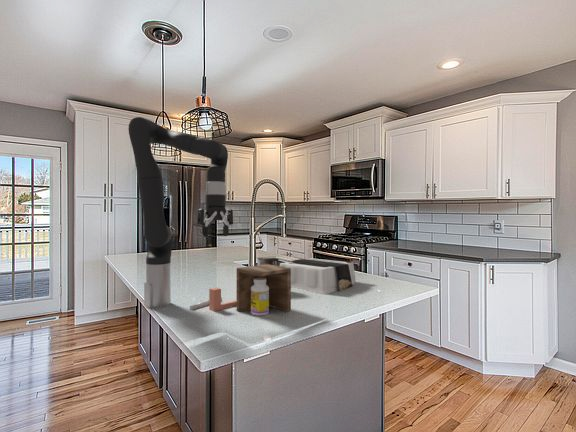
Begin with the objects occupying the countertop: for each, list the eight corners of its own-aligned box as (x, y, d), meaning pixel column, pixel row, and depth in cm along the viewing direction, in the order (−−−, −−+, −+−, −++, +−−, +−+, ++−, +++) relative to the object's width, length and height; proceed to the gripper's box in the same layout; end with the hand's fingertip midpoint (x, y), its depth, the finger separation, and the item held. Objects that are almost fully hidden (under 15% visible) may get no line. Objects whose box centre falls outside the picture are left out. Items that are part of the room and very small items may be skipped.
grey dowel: (193, 310, 124) (192, 305, 125) (190, 310, 125) (189, 306, 126) (222, 300, 138) (221, 296, 138) (219, 301, 139) (218, 297, 139)
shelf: (259, 319, 113) (259, 272, 113) (236, 310, 123) (236, 268, 123) (290, 311, 124) (290, 268, 123) (267, 303, 134) (267, 264, 134)
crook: (213, 311, 123) (213, 290, 123) (202, 306, 129) (202, 286, 129) (254, 302, 136) (254, 282, 136) (243, 298, 142) (243, 280, 142)
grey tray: (363, 286, 169) (363, 262, 169) (327, 298, 144) (327, 270, 143) (308, 277, 191) (308, 256, 191) (269, 287, 166) (269, 262, 166)
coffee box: (276, 290, 158) (276, 257, 158) (279, 293, 152) (279, 258, 152) (257, 291, 155) (257, 257, 155) (259, 294, 149) (259, 259, 149)
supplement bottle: (248, 312, 122) (248, 277, 122) (265, 310, 125) (265, 276, 125) (254, 317, 116) (254, 281, 116) (271, 315, 119) (271, 279, 119)
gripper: (204, 192, 118) (203, 237, 118) (237, 194, 128) (236, 236, 128) (194, 193, 123) (194, 236, 123) (226, 195, 133) (226, 235, 133)
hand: (215, 236), depth 125 cm, fingers open, 8 cm apart
